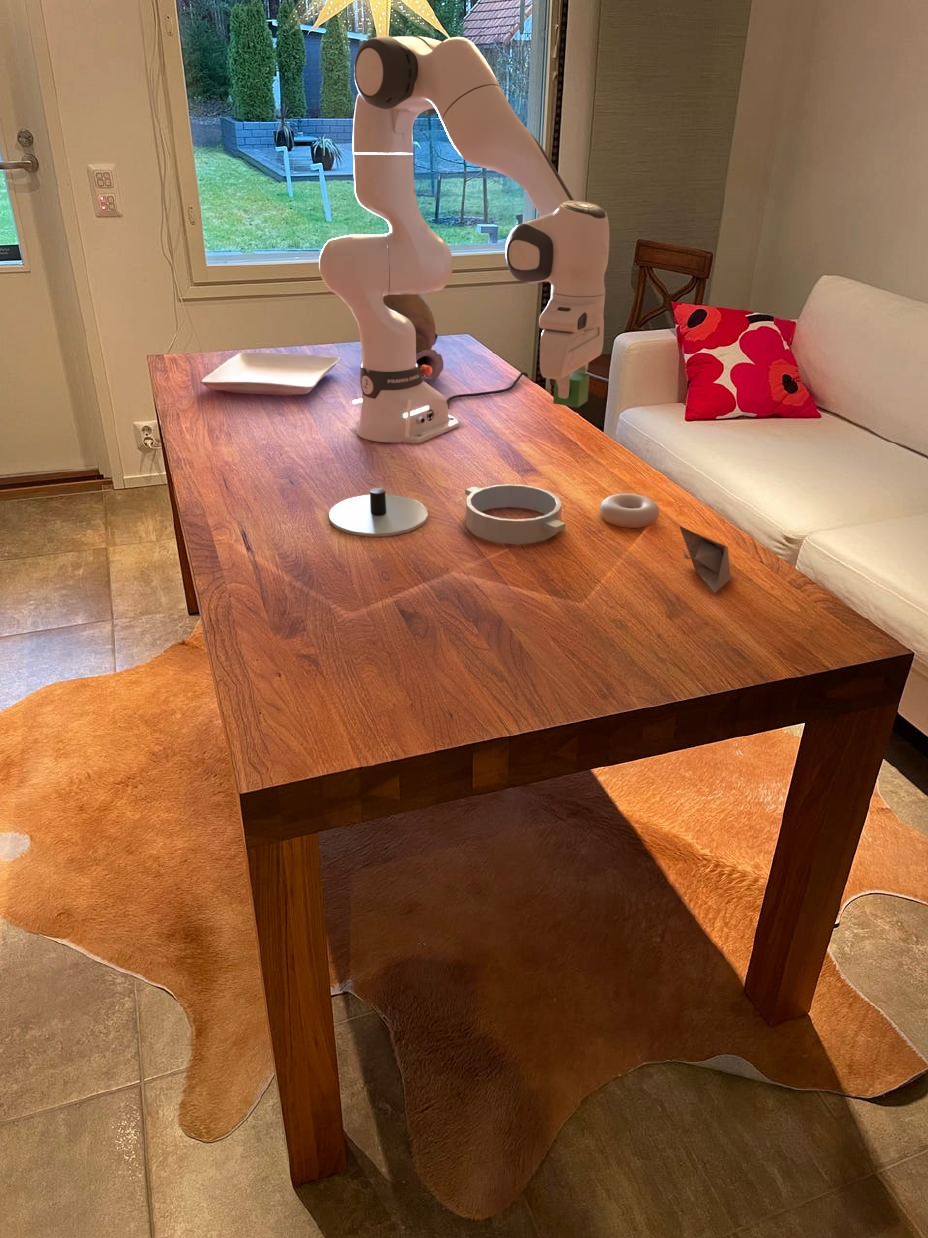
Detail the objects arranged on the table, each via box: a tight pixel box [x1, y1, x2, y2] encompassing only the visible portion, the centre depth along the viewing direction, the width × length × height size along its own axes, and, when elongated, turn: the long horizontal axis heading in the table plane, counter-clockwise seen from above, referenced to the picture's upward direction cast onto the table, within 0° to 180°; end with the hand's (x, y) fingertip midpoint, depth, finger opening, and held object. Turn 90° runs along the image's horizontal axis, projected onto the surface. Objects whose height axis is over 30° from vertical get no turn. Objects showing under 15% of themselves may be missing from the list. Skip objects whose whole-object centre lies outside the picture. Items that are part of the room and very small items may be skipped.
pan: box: [464, 483, 567, 545], centre depth 153 cm, size 16×21×4 cm
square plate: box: [200, 352, 341, 396], centre depth 225 cm, size 27×27×4 cm
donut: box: [599, 492, 660, 529], centre depth 156 cm, size 10×4×10 cm
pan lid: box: [328, 487, 429, 538], centre depth 154 cm, size 17×17×5 cm
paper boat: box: [679, 525, 732, 594], centre depth 138 cm, size 12×6×9 cm
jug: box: [383, 294, 445, 381], centre depth 235 cm, size 20×20×30 cm
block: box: [552, 372, 590, 408], centre depth 158 cm, size 5×5×5 cm
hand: (570, 393), depth 158 cm, fingers closed on block, 4 cm apart
